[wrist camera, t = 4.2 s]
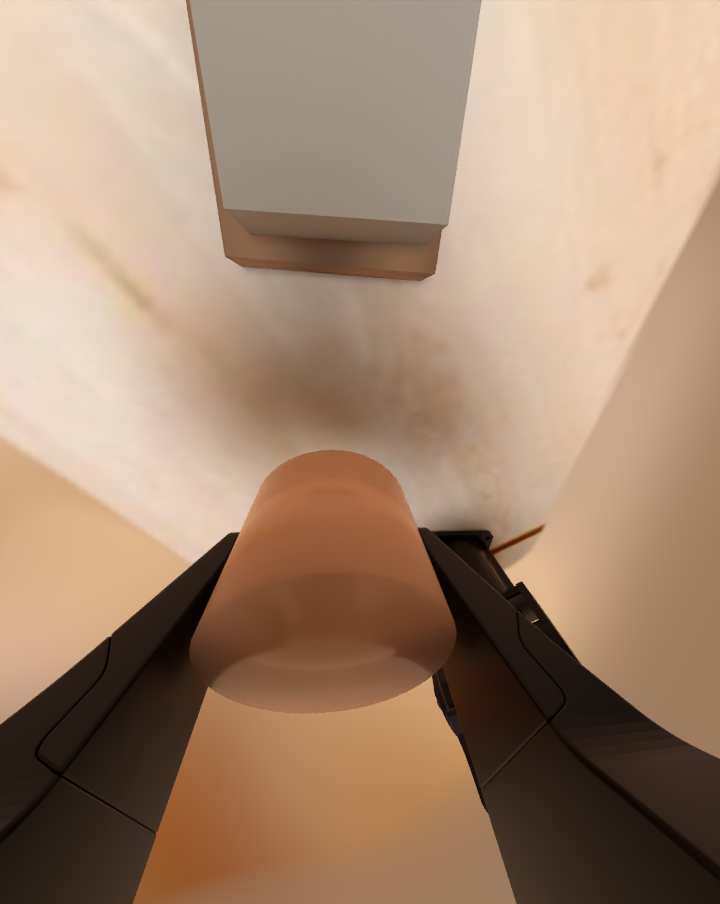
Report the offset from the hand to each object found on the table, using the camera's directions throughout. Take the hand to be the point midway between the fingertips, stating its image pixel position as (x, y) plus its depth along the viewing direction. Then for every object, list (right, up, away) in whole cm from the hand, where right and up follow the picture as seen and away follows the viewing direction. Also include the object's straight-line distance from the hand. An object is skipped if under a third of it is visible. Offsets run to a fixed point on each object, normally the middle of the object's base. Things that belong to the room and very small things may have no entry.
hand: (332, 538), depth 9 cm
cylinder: (0, 0, +1) cm, 1 cm away
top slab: (0, +16, +1) cm, 16 cm away
